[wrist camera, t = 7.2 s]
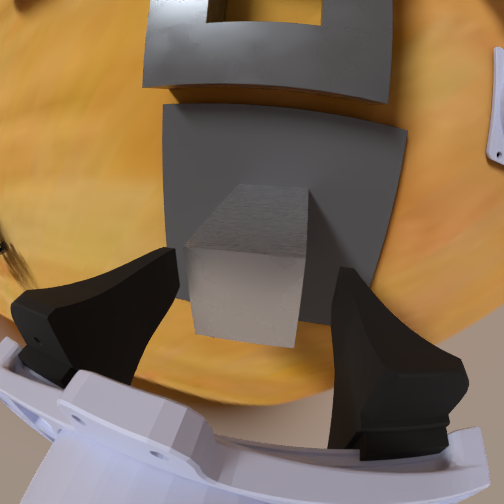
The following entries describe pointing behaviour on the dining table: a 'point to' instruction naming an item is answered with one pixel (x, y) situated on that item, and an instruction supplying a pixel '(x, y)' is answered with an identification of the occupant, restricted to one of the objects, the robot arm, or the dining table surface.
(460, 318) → the dining table surface
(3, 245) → the valve
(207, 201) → the rubber mat
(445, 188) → the dining table surface
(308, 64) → the socket block
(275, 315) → the steel peg
